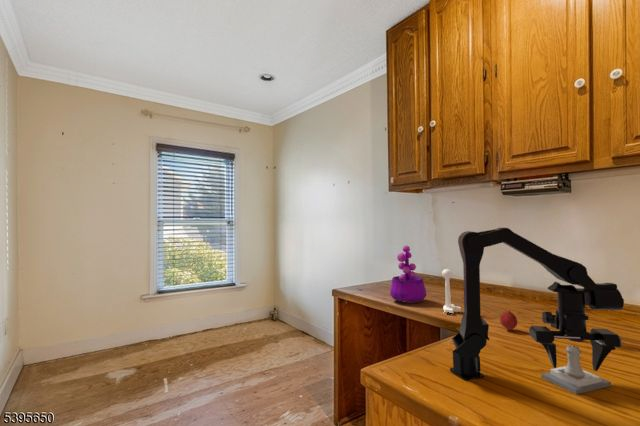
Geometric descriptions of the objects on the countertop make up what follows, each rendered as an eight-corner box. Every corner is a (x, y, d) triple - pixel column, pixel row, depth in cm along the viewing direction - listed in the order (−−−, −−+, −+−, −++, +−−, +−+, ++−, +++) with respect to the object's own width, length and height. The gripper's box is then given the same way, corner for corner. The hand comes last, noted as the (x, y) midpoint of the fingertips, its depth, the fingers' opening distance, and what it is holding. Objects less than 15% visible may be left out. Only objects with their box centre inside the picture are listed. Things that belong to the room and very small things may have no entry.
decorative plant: (408, 308, 161) (406, 247, 162) (383, 300, 177) (381, 245, 178) (434, 302, 171) (432, 245, 172) (408, 296, 187) (406, 243, 188)
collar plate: (575, 394, 79) (575, 385, 79) (541, 377, 88) (541, 369, 88) (611, 385, 83) (610, 377, 83) (574, 370, 91) (574, 362, 91)
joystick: (444, 308, 159) (442, 267, 160) (461, 309, 156) (459, 267, 156) (442, 314, 149) (440, 270, 150) (460, 315, 146) (458, 271, 146)
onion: (503, 326, 130) (502, 306, 130) (519, 330, 125) (518, 309, 126) (498, 330, 125) (497, 309, 126) (515, 333, 121) (514, 312, 122)
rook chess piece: (569, 381, 83) (567, 349, 84) (560, 373, 88) (559, 343, 88) (589, 382, 82) (587, 350, 83) (579, 374, 87) (578, 344, 87)
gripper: (595, 302, 91) (598, 358, 91) (520, 300, 96) (523, 354, 95) (621, 313, 80) (625, 377, 80) (536, 310, 85) (538, 371, 85)
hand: (574, 368), depth 85 cm, fingers open, 9 cm apart
